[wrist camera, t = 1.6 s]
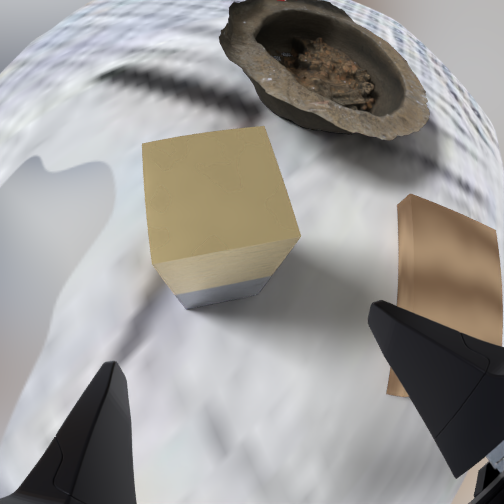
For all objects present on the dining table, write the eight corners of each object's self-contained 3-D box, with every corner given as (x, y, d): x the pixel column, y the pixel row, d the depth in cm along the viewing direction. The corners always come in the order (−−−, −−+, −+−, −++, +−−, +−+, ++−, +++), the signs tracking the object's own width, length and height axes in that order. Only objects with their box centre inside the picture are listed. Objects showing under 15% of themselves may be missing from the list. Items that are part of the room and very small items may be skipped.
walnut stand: (481, 388, 21) (497, 388, 19) (386, 394, 21) (402, 397, 18) (482, 237, 27) (495, 230, 25) (397, 205, 27) (410, 193, 24)
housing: (257, 294, 22) (301, 236, 11) (185, 309, 21) (152, 264, 10) (241, 228, 24) (264, 126, 12) (173, 240, 23) (141, 143, 11)
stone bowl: (217, 33, 33) (226, -19, 24) (370, 66, 38) (394, 26, 29) (205, 161, 25) (215, 79, 16) (424, 191, 30) (475, 148, 21)
